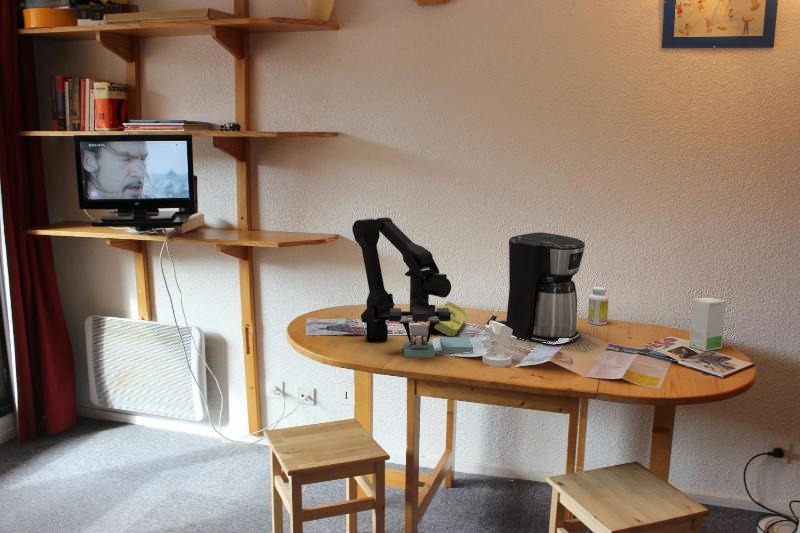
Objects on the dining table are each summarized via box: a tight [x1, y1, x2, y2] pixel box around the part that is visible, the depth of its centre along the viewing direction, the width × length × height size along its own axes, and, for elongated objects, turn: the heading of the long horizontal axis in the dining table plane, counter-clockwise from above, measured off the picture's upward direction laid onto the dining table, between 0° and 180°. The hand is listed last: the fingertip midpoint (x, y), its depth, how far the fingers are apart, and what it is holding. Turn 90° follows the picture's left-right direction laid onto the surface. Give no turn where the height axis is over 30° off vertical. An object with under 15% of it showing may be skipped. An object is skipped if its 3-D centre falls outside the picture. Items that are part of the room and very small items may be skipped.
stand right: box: [439, 336, 474, 354], centre depth 211 cm, size 9×10×2 cm
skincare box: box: [688, 297, 727, 352], centre depth 213 cm, size 8×7×16 cm
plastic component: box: [426, 301, 468, 337], centre depth 233 cm, size 20×7×10 cm
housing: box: [409, 324, 428, 348], centre depth 206 cm, size 5×8×5 cm, turn 2°
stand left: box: [402, 340, 436, 359], centre depth 207 cm, size 9×10×2 cm
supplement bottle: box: [587, 286, 609, 326], centre depth 240 cm, size 7×7×13 cm
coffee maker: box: [486, 231, 586, 343], centre depth 224 cm, size 23×32×34 cm
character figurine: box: [481, 320, 517, 368], centre depth 198 cm, size 9×10×12 cm
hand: (418, 341), depth 206 cm, fingers closed on housing, 5 cm apart
